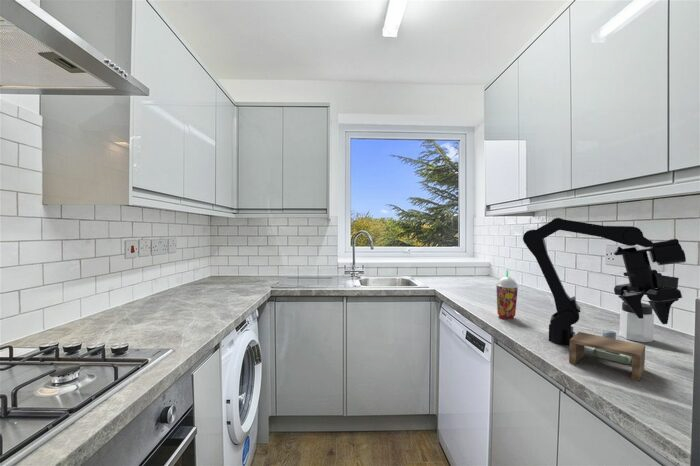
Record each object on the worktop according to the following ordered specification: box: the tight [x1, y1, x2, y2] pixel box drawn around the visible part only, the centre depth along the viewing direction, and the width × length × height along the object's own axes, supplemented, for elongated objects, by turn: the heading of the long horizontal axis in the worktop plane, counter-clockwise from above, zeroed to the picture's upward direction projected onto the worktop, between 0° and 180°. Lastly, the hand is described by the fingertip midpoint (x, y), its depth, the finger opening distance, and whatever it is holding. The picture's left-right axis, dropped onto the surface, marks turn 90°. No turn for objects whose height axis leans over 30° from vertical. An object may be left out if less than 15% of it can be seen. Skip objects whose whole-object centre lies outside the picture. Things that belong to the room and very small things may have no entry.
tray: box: [592, 348, 632, 365], centre depth 100 cm, size 8×12×3 cm, turn 133°
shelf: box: [568, 331, 646, 382], centre depth 92 cm, size 15×10×7 cm, turn 43°
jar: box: [619, 301, 655, 343], centre depth 117 cm, size 9×8×12 cm
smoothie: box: [495, 270, 519, 320], centre depth 142 cm, size 8×8×20 cm
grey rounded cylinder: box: [602, 329, 617, 340], centre depth 110 cm, size 3×3×4 cm
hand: (652, 321), depth 98 cm, fingers open, 9 cm apart
